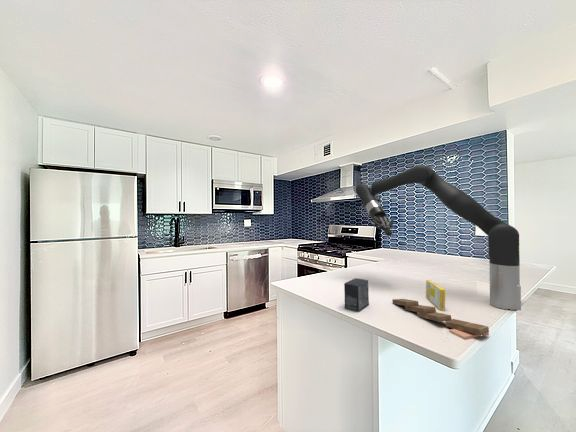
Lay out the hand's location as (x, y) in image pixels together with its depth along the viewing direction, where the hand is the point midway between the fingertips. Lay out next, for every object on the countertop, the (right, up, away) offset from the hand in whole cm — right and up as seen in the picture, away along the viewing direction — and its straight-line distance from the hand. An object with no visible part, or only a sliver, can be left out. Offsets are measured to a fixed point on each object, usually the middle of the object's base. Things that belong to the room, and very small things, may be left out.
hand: (390, 234), depth 120 cm
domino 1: (-3, -27, -15) cm, 31 cm away
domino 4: (+4, -27, -38) cm, 46 cm away
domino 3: (0, -27, -29) cm, 39 cm away
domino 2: (-1, -27, -23) cm, 35 cm away
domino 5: (+2, -28, -44) cm, 52 cm away
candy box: (+12, -28, -16) cm, 35 cm away
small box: (-22, -28, -19) cm, 41 cm away
